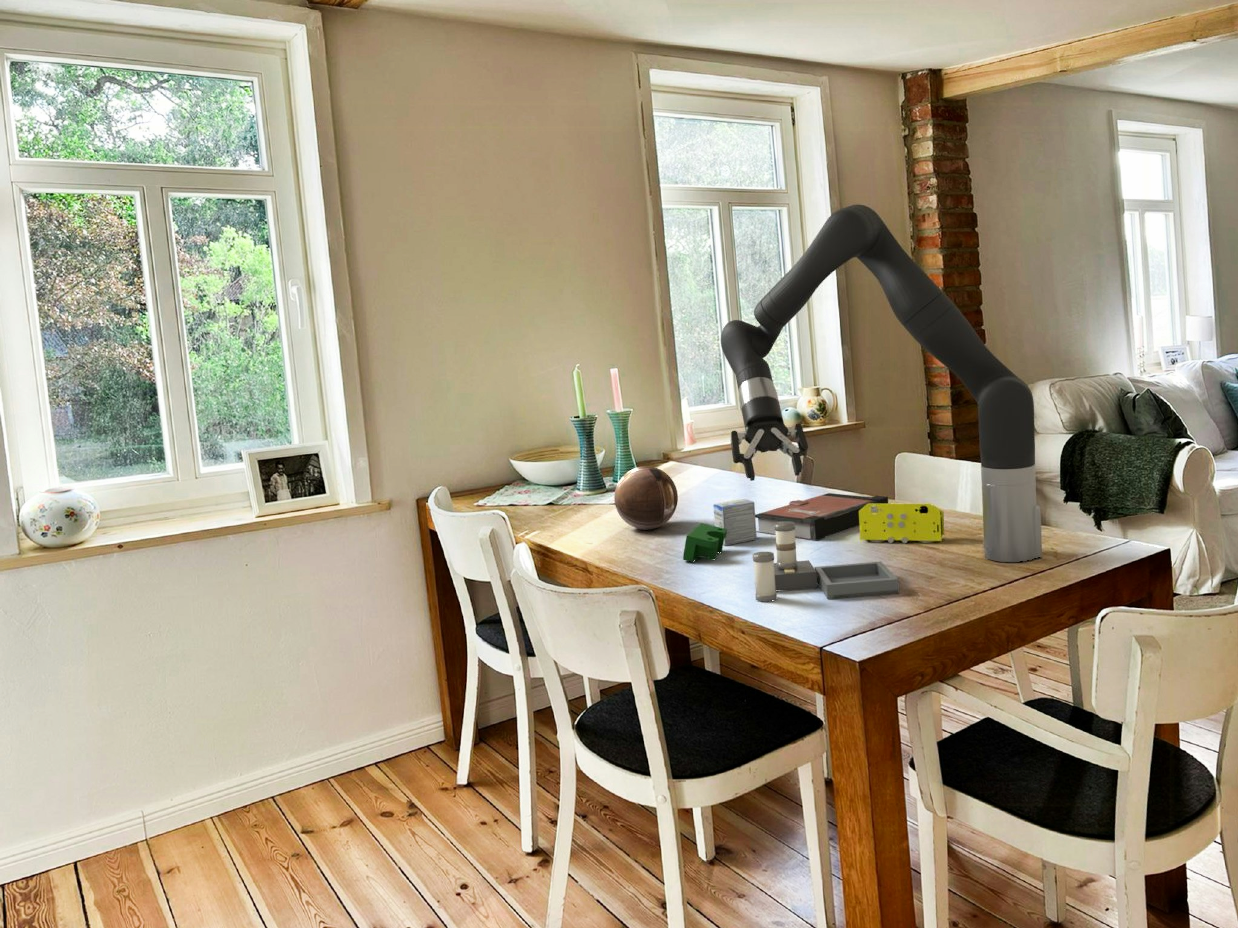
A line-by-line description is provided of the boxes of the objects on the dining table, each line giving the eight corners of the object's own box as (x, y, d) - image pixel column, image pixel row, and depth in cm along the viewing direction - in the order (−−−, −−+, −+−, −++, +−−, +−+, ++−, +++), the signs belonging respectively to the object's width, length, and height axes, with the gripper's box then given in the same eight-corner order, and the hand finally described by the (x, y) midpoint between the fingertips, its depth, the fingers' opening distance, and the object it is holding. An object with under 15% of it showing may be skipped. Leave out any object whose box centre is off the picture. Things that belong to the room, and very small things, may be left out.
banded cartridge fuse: (795, 563, 179) (792, 520, 178) (798, 568, 176) (796, 524, 175) (776, 565, 179) (773, 522, 178) (778, 570, 176) (775, 526, 175)
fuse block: (809, 576, 182) (808, 559, 181) (817, 587, 174) (816, 570, 174) (760, 580, 182) (759, 563, 182) (766, 592, 174) (765, 574, 174)
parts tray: (881, 574, 178) (880, 561, 178) (898, 593, 167) (898, 579, 166) (815, 580, 179) (814, 566, 179) (827, 599, 167) (826, 584, 167)
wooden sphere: (607, 529, 238) (601, 468, 236) (662, 518, 244) (656, 459, 242) (634, 539, 225) (628, 474, 222) (691, 528, 231) (686, 465, 228)
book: (827, 511, 238) (826, 490, 237) (889, 518, 224) (887, 496, 224) (754, 534, 221) (752, 512, 221) (815, 543, 208) (814, 520, 207)
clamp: (710, 581, 200) (712, 547, 195) (682, 574, 202) (683, 540, 197) (727, 546, 209) (729, 512, 204) (700, 540, 211) (702, 506, 206)
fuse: (775, 595, 172) (772, 550, 171) (778, 601, 169) (775, 555, 167) (754, 596, 172) (751, 552, 171) (757, 602, 169) (753, 557, 167)
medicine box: (747, 536, 217) (744, 498, 216) (757, 540, 213) (754, 501, 212) (715, 542, 215) (712, 503, 213) (725, 546, 210) (722, 506, 209)
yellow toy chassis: (860, 543, 203) (857, 504, 201) (865, 537, 208) (863, 498, 206) (941, 545, 196) (939, 504, 194) (944, 538, 201) (943, 498, 199)
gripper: (725, 399, 191) (739, 470, 182) (797, 390, 191) (815, 461, 182) (723, 420, 197) (736, 490, 189) (793, 412, 197) (810, 481, 189)
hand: (775, 476), depth 185 cm, fingers open, 8 cm apart
